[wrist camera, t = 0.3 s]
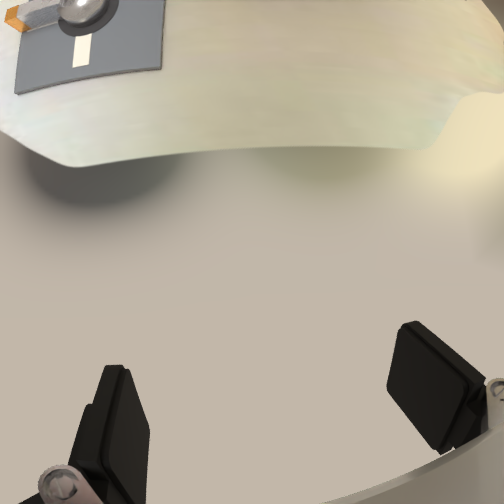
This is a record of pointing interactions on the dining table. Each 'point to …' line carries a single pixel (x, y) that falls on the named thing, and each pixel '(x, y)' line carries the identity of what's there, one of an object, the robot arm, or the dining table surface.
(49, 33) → the panel
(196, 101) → the dining table surface
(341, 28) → the dining table surface
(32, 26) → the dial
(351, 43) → the dining table surface
